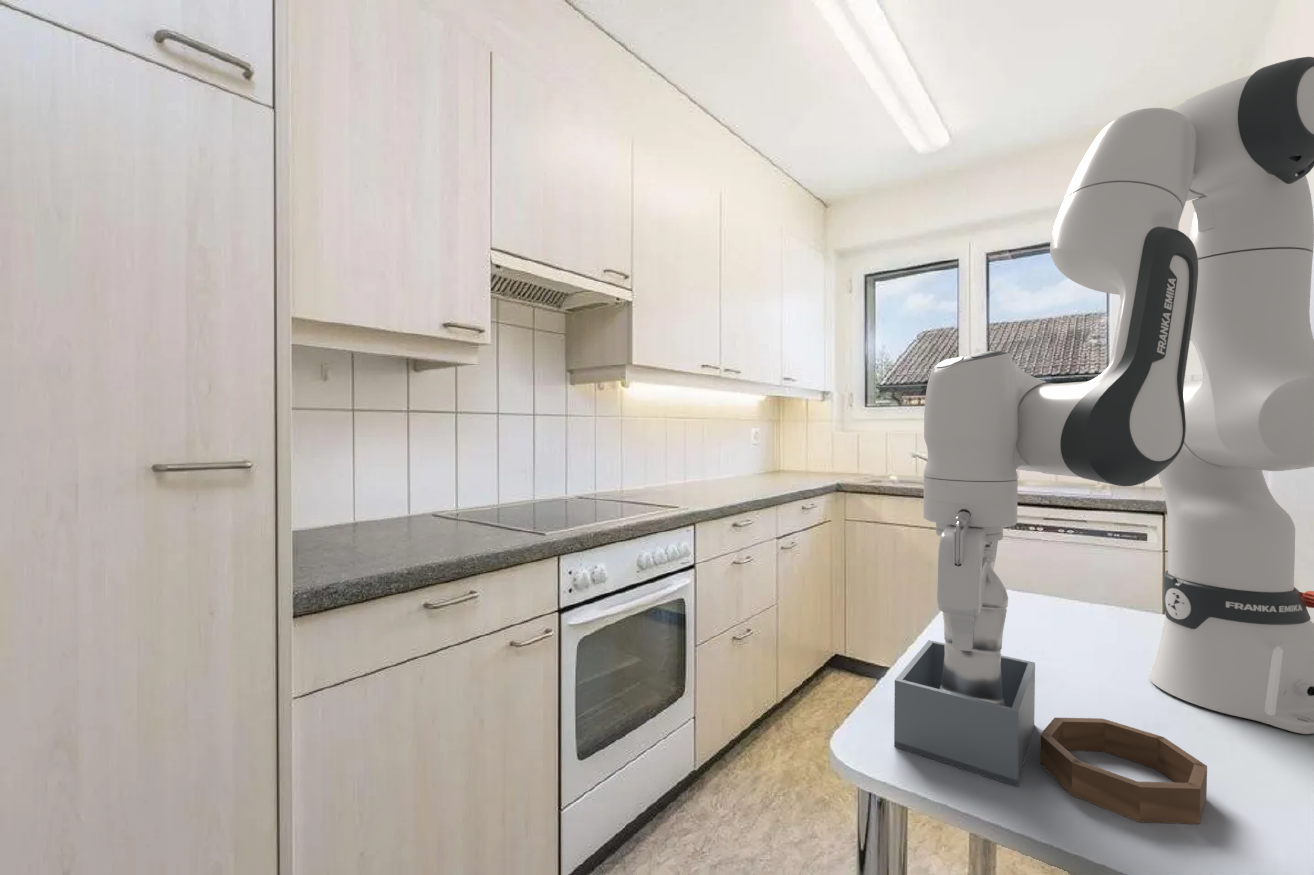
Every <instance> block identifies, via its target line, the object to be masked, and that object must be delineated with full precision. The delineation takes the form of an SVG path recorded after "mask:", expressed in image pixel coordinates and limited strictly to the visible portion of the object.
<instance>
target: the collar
mask: <svg viewBox="0 0 1314 875" xmlns="http://www.w3.org/2000/svg"><path fill="white" fill-rule="evenodd" d="M1039 738H1040V740H1039V742H1040V747H1039V765H1040V766H1041V767H1042V768H1043V769H1044V770H1046V772H1047V773H1048V774H1049V775H1050V776H1051V777H1052V778H1053V779H1055V781H1057V783H1059V784H1060V786H1062V787H1063V788H1064V789H1065V790H1066V791H1067V793H1069V794H1070V795H1071V796H1073V797H1075V798H1078V799H1080V800H1083V801H1086V802H1088V803H1091V804H1092V805H1093V804H1094V805H1096V806H1099V807H1101V808H1102V809H1106V810H1107V811H1111V812H1114V813H1115V814H1118V815H1120V816H1123V817H1126V818H1128V819H1131V820H1133V821H1136V822H1138V823H1159V824H1163V823H1164V824H1186V825H1189V824H1191V825H1194V824H1195V825H1200V824H1201V820H1202V816H1203V812H1204V809H1205V805H1206V801H1207V799H1208V798H1207V795H1208V794H1207V793H1208V792H1207V791H1208V790H1207V789H1208V788H1207V787H1208V786H1207V785H1208V782H1207V781H1208V766H1207V765H1206V764H1205V763H1203V762H1202V761H1200V760H1199V759H1197V758H1196V757H1195V756H1193V755H1191V754H1190V753H1188V752H1187V751H1185V750H1184V749H1182V748H1180V747H1179V746H1178V745H1177V744H1175V743H1173V742H1172V741H1170V740H1169V739H1168V738H1166V737H1164V736H1162V735H1158V734H1155V733H1152V732H1149V731H1145V730H1142V729H1139V728H1136V727H1132V726H1129V725H1126V724H1121V723H1118V722H1116V721H1111V720H1109V719H1106V718H1098V717H1097V718H1095V717H1094V718H1093V717H1091V718H1090V717H1089V718H1087V717H1054V718H1053V719H1052V720H1051V721H1050V722H1049V724H1048V725H1047V726H1046V727H1045V728H1044V730H1042V732H1041V733H1040V736H1039ZM1070 751H1074V752H1075V751H1078V752H1081V751H1082V752H1105V753H1108V754H1110V755H1114V756H1116V757H1117V756H1118V757H1120V758H1123V759H1125V760H1130V761H1131V762H1134V763H1139V764H1141V765H1143V766H1147V767H1150V768H1152V769H1156V770H1158V771H1159V772H1160V773H1162V774H1163V775H1164V776H1166V778H1169V780H1171V781H1172V782H1170V781H1169V782H1168V781H1162V782H1161V781H1137V780H1135V779H1132V778H1129V777H1126V776H1124V775H1120V774H1117V773H1115V772H1112V771H1109V770H1106V769H1103V768H1101V767H1098V766H1095V765H1093V764H1089V763H1088V762H1084V761H1081V760H1079V759H1078V758H1077V757H1076V756H1074V755H1073V754H1072V752H1070Z"/></svg>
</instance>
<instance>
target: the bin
mask: <svg viewBox="0 0 1314 875" xmlns="http://www.w3.org/2000/svg"><path fill="white" fill-rule="evenodd" d="M944 656H945V642H939V641H936V640H935V641H934V640H929V639H928V640H927V641H926V643H925V644H924V645H923V646H922V647H921V649H920V650H919V651H918V652H917V653H916V654H915V656H914V657H913V658H912V659H911V661H910V662H909V663H908V664H907V665H906V666H905V667H904V668H903V670H902V671H901V672H900V673H899V674H898V675H897V677H896V678H895V679H894V706H893V708H894V709H893V710H894V718H893V719H894V724H893V726H894V729H893V731H894V733H893V735H894V736H893V738H894V739H893V740H894V742H893V746H894V747H895V748H898V749H900V750H904V751H906V752H909V753H913V754H916V755H919V756H921V757H925V758H928V759H932V760H934V761H937V762H940V763H944V764H946V765H950V766H953V767H955V768H959V769H962V770H964V771H968V772H970V773H974V774H977V775H980V776H983V777H986V778H989V779H992V780H996V781H998V782H1001V783H1004V784H1007V785H1011V786H1014V787H1017V788H1018V786H1019V782H1020V779H1021V776H1022V771H1023V768H1024V764H1025V760H1026V757H1027V752H1028V749H1029V746H1030V742H1031V738H1032V735H1033V730H1034V727H1035V703H1036V702H1035V700H1036V699H1035V698H1036V696H1035V695H1036V694H1035V693H1036V691H1035V690H1036V662H1034V661H1030V660H1025V659H1019V658H1015V657H1010V656H1006V655H1002V654H1001V676H1002V691H1003V696H1002V697H1003V699H1004V702H1005V706H1003V705H999V704H995V703H991V702H987V701H983V700H979V699H976V698H972V697H968V696H964V695H960V694H956V693H952V692H948V691H944V690H940V686H941V685H942V683H941V681H942V673H943V664H944Z"/></svg>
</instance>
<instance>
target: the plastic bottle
mask: <svg viewBox="0 0 1314 875" xmlns="http://www.w3.org/2000/svg"><path fill="white" fill-rule="evenodd" d="M984 558H987V575H986V593H985V597H984V601H983V604H982V607H981V610H980V614H979V615H978V616H976V617H974V628H973V630H974V644H973V648H972V650H970V651H965V650H959V649H956V648H954V647H953V645H952V627H951V622H950V613H946V612H942V617H943V629H944V630H943V631H944V633H943V634H944V637H943V638H944V643H945V656H944V664H943V673H942V681H941V683H942V685H941V686H940V690H944V691H948V692H952V693H956V694H960V695H964V696H968V697H972V698H976V699H979V700H983V701H987V702H991V703H995V704H999V705H1003V706H1005V702H1004V699H1003V697H1002V696H1003V691H1002V676H1001V655H1002V653H1001V652H1002V651H1001V650H1002V647H1003V638H1004V637H1003V634H1004V628H1005V623H1006V617H1007V612H1008V610H1007V608H1008V606H1009V596H1008V593H1007V589H1006V587H1005V585H1004V584H1003V582H1002V580H1001V578H1000V577H999V575H998V574H997V573H996V571H994V569H992V562H995V563H996V559H995V558H994V545H988V544H986V546H985V548H984ZM961 565H962V564H960V565H959V566H961ZM956 566H958V565H956Z"/></svg>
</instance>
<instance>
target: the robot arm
mask: <svg viewBox="0 0 1314 875" xmlns="http://www.w3.org/2000/svg"><path fill="white" fill-rule="evenodd" d="M1313 168H1314V57H1313V56H1304V57H1296V58H1292V59H1288V60H1284V61H1279V62H1276V63H1273V64H1270V65H1267V66H1263V67H1261V68H1259V69H1258V70H1256V71H1255V72H1254V73H1252V74H1250V75H1247V76H1243V77H1240V78H1237V79H1235V80H1232V81H1229V82H1227V83H1224V84H1221V85H1219V86H1216V87H1213V88H1211V89H1208V90H1206V91H1204V92H1202V93H1199V94H1196V95H1194V96H1193V97H1189V98H1188V99H1187V100H1185V101H1184V102H1183V103H1180V104H1178V105H1176V106H1174V107H1172V108H1170V109H1169V108H1163V107H1148V108H1147V107H1146V108H1141V109H1136V110H1134V111H1130V112H1127V113H1124V114H1122V115H1121V116H1119V117H1117V118H1115V119H1114V120H1113V121H1111V122H1109V123H1108V124H1107V125H1105V126H1104V127H1103V128H1102V130H1101V131H1100V132H1099V133H1098V134H1097V136H1096V137H1095V139H1094V140H1093V142H1092V143H1091V145H1090V147H1089V148H1088V149H1087V151H1086V152H1085V154H1084V156H1083V158H1082V159H1081V161H1080V163H1079V165H1078V167H1077V169H1076V171H1075V173H1074V175H1073V177H1072V180H1071V181H1070V184H1069V186H1068V188H1067V191H1066V193H1065V195H1064V198H1063V201H1062V204H1061V206H1060V208H1059V211H1058V213H1057V217H1056V219H1055V221H1054V224H1053V228H1052V231H1051V235H1050V242H1049V245H1050V246H1049V253H1050V254H1049V255H1050V257H1051V259H1052V261H1053V263H1054V264H1055V266H1056V268H1057V269H1058V270H1059V272H1060V273H1061V274H1062V275H1064V276H1065V277H1066V278H1067V279H1069V280H1070V281H1072V282H1074V283H1076V284H1078V285H1080V286H1082V287H1085V288H1088V289H1090V290H1093V291H1096V292H1101V293H1106V294H1110V295H1111V294H1112V295H1118V296H1120V305H1119V310H1118V317H1117V322H1116V328H1115V332H1114V333H1115V334H1114V339H1113V344H1112V349H1111V356H1110V360H1109V364H1108V366H1107V367H1106V368H1105V369H1104V370H1103V371H1102V372H1101V373H1100V374H1098V376H1096V377H1094V378H1092V379H1090V380H1087V381H1076V382H1075V381H1074V382H1063V383H1062V382H1061V383H1050V382H1049V383H1047V381H1046V380H1043V379H1040V378H1038V377H1034V376H1033V375H1031V374H1029V373H1027V372H1026V371H1025V370H1023V369H1022V368H1021V367H1019V366H1018V365H1017V364H1016V363H1014V361H1013V358H1012V355H1011V354H1010V353H1009V352H1007V351H1002V350H990V351H983V352H978V353H973V354H972V353H971V354H966V355H960V356H955V357H951V358H947V359H944V360H941V361H939V363H937V364H936V365H935V366H934V367H933V368H932V370H931V373H930V374H929V377H928V382H927V386H926V391H925V396H924V398H925V400H924V410H923V411H924V413H923V416H924V417H923V423H924V424H923V438H924V442H925V444H926V448H927V460H926V464H925V467H924V471H923V518H924V519H925V520H926V521H927V522H928V521H929V522H931V523H935V534H936V535H937V536H939V544H938V552H937V553H938V554H937V569H936V570H937V572H936V573H937V574H936V575H937V577H936V580H937V581H936V601H937V602H936V603H937V608H938V610H939V611H941V612H942V613H943V612H946V613H950V622H951V627H952V645H953V647H954V648H956V649H959V650H965V651H970V650H972V648H973V644H974V630H973V628H974V617H976V616H978V615H979V614H980V610H981V607H982V604H983V601H984V597H985V593H986V575H987V558H984V548H985V546H986V544H988V545H994V558H995V560H996V558H997V553H998V552H997V551H998V543H999V541H1002V540H1003V539H1004V532H1003V531H1004V528H1009V527H1015V526H1016V525H1017V524H1018V496H1019V495H1018V486H1019V485H1018V484H1019V483H1018V482H1019V481H1018V478H1019V477H1018V472H1017V470H1019V471H1020V470H1021V471H1027V472H1034V473H1035V472H1038V473H1042V474H1048V475H1053V476H1054V475H1057V476H1065V477H1076V478H1082V479H1085V480H1090V481H1096V482H1099V483H1104V484H1108V485H1113V486H1118V487H1133V486H1138V485H1141V484H1143V483H1146V482H1148V481H1150V480H1151V479H1153V478H1154V477H1156V476H1157V477H1158V480H1159V483H1160V486H1161V490H1162V494H1163V498H1164V501H1165V505H1166V506H1165V507H1166V513H1167V515H1166V516H1167V545H1168V546H1167V570H1166V571H1164V572H1163V577H1162V578H1163V580H1162V601H1163V602H1162V603H1163V609H1164V614H1165V615H1164V621H1163V627H1162V632H1161V637H1160V642H1159V647H1158V649H1157V653H1156V656H1155V660H1154V663H1153V665H1152V668H1151V670H1150V671H1149V674H1148V678H1149V680H1150V681H1151V682H1152V683H1153V684H1154V685H1155V686H1156V687H1158V688H1159V689H1161V690H1163V691H1164V692H1166V693H1167V694H1169V695H1172V696H1174V697H1176V698H1178V699H1180V700H1183V701H1185V702H1188V703H1191V704H1193V705H1196V706H1199V707H1202V708H1205V709H1208V710H1211V711H1215V712H1218V713H1222V714H1226V715H1230V716H1235V717H1238V718H1243V719H1248V720H1252V721H1256V722H1260V723H1263V724H1267V725H1269V726H1270V725H1271V726H1272V727H1275V728H1279V729H1282V730H1286V731H1289V732H1293V733H1297V734H1303V735H1311V734H1314V622H1312V621H1311V620H1312V619H1311V616H1310V614H1309V611H1308V608H1311V609H1312V608H1313V609H1314V591H1313V590H1307V591H1305V592H1302V591H1300V590H1298V589H1297V588H1296V587H1295V586H1294V585H1295V555H1296V552H1295V550H1296V526H1295V523H1294V521H1293V519H1292V517H1291V516H1290V514H1289V513H1288V512H1287V511H1286V510H1285V509H1284V508H1283V507H1282V506H1281V505H1280V504H1278V501H1277V500H1276V498H1274V496H1273V495H1272V493H1271V491H1270V488H1269V486H1268V484H1267V482H1266V479H1265V476H1264V472H1263V471H1268V472H1283V471H1292V470H1301V469H1302V470H1303V469H1307V468H1314V335H1313V332H1312V325H1311V317H1310V316H1311V315H1310V309H1311V308H1310V307H1311V290H1312V289H1311V288H1312V287H1311V286H1312V275H1313V274H1312V272H1313V258H1314V257H1313V256H1314V207H1313V200H1312V194H1311V189H1310V186H1309V181H1308V178H1307V176H1306V175H1308V174H1309V173H1311V170H1313ZM1188 201H1191V203H1192V206H1193V208H1194V211H1193V214H1192V218H1191V222H1190V225H1189V231H1188V234H1187V235H1186V234H1185V233H1184V232H1182V231H1181V230H1179V228H1180V227H1179V226H1180V221H1181V218H1182V215H1183V211H1184V209H1185V205H1186V203H1187V202H1188ZM1190 342H1191V343H1192V345H1193V346H1194V348H1195V350H1196V353H1197V355H1198V359H1199V362H1200V366H1201V371H1202V379H1195V380H1186V381H1185V379H1186V370H1187V362H1188V356H1189V349H1190ZM960 564H962V565H961V566H959V565H960ZM995 564H996V561H995V562H992V569H993V570H994V568H995ZM956 565H958V566H956Z"/></svg>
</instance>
